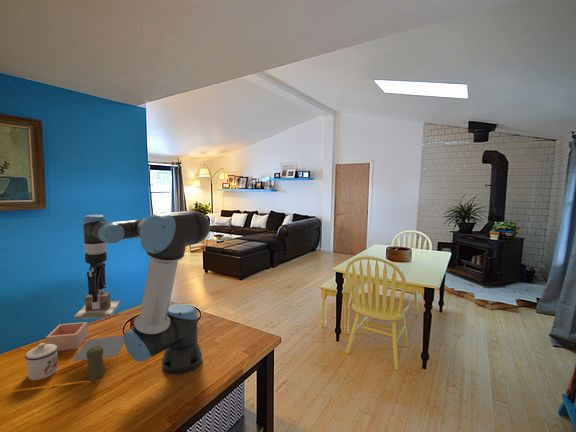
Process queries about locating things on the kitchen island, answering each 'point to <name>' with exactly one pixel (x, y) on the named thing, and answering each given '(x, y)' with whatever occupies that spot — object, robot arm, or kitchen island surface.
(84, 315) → the lid
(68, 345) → the pink open box
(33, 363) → the white lidded canister
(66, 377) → the kitchen island surface
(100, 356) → the olive green rounded column
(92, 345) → the mat
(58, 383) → the kitchen island surface
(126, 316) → the kitchen island surface
